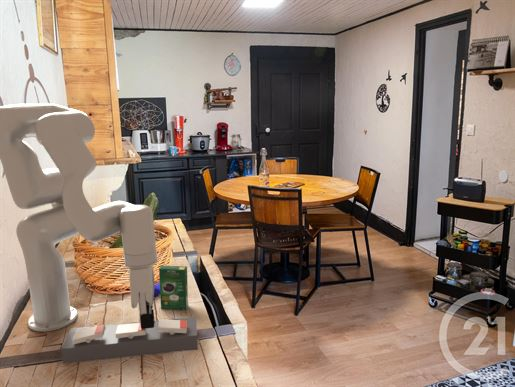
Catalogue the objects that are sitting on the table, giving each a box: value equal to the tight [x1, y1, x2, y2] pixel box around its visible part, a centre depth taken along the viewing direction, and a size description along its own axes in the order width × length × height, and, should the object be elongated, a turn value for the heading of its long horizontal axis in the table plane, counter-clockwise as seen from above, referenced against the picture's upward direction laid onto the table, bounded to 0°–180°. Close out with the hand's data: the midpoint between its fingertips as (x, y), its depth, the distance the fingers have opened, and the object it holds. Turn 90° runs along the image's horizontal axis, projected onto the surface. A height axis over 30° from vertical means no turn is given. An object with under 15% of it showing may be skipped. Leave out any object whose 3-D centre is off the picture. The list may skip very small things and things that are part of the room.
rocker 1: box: [72, 323, 106, 344], centre depth 105 cm, size 4×7×2 cm, turn 99°
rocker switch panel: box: [60, 316, 199, 364], centre depth 109 cm, size 9×32×4 cm, turn 99°
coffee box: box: [158, 264, 189, 311], centre depth 127 cm, size 8×3×13 cm, turn 86°
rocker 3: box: [158, 318, 187, 335], centre depth 108 cm, size 4×7×2 cm, turn 99°
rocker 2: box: [115, 322, 146, 339], centre depth 107 cm, size 4×7×2 cm, turn 99°
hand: (148, 326), depth 107 cm, fingers closed
